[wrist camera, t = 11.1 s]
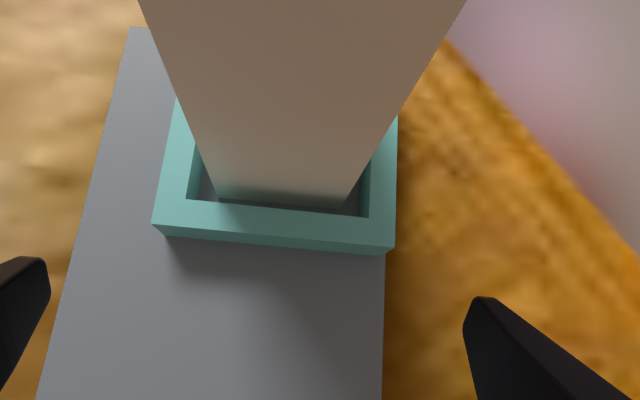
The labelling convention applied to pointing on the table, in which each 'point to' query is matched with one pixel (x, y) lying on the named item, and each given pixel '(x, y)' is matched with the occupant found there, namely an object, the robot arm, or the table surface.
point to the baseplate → (214, 271)
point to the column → (293, 86)
